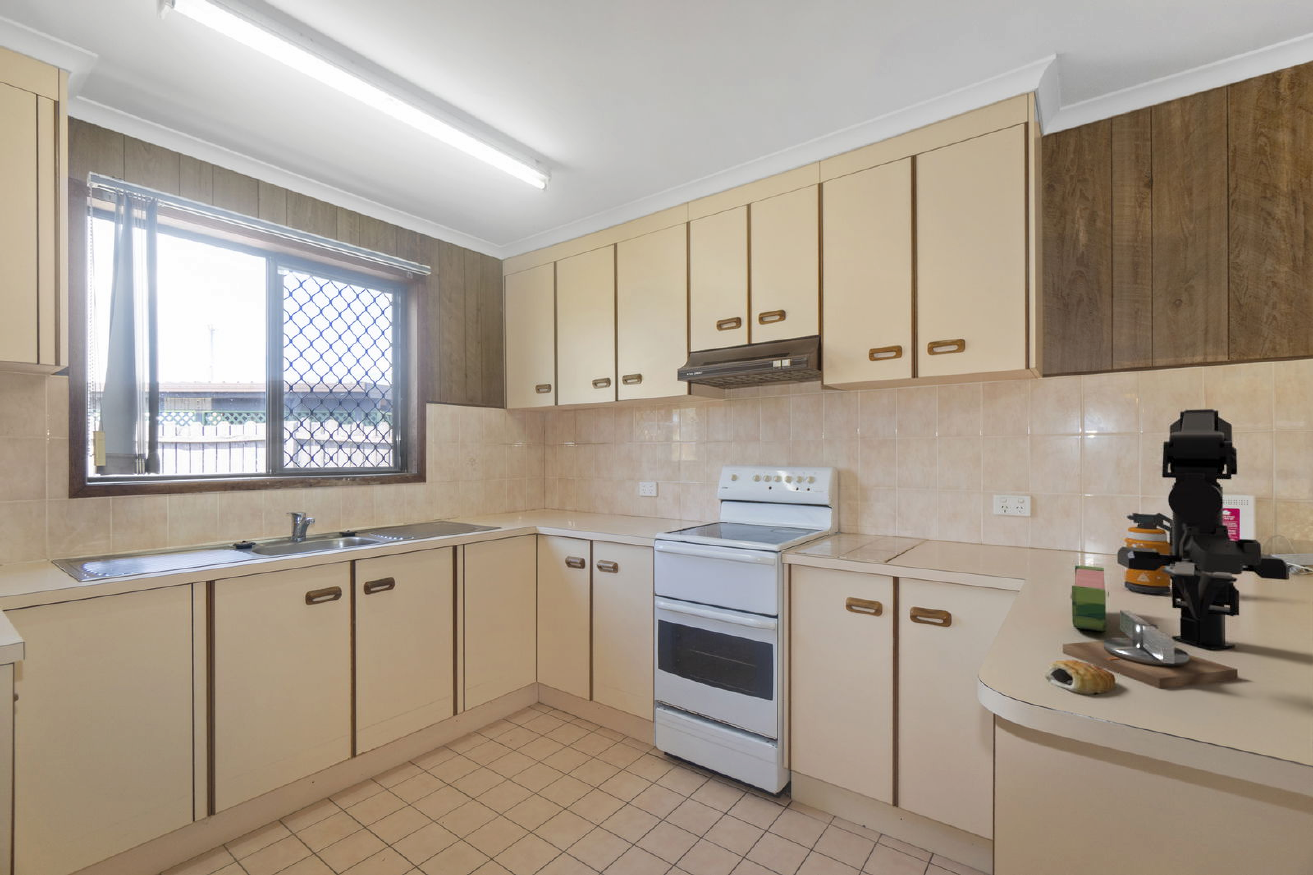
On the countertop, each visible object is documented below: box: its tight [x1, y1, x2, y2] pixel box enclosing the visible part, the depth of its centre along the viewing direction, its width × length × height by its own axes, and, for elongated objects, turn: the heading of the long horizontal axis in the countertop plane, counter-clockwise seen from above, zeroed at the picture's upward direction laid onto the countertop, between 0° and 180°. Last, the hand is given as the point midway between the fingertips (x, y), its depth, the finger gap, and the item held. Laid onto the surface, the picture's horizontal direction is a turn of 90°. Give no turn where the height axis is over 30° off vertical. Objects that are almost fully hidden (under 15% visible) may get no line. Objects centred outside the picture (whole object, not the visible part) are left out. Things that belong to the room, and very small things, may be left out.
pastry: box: [1044, 659, 1116, 695], centre depth 91 cm, size 9×7×4 cm
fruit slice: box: [1070, 565, 1110, 632], centre depth 122 cm, size 26×6×10 cm, turn 144°
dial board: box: [1062, 639, 1239, 689], centre depth 99 cm, size 16×16×2 cm
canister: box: [1123, 512, 1173, 596], centre depth 150 cm, size 9×11×20 cm
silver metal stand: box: [1104, 609, 1190, 666], centre depth 99 cm, size 11×16×5 cm
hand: (1198, 619), depth 90 cm, fingers closed
